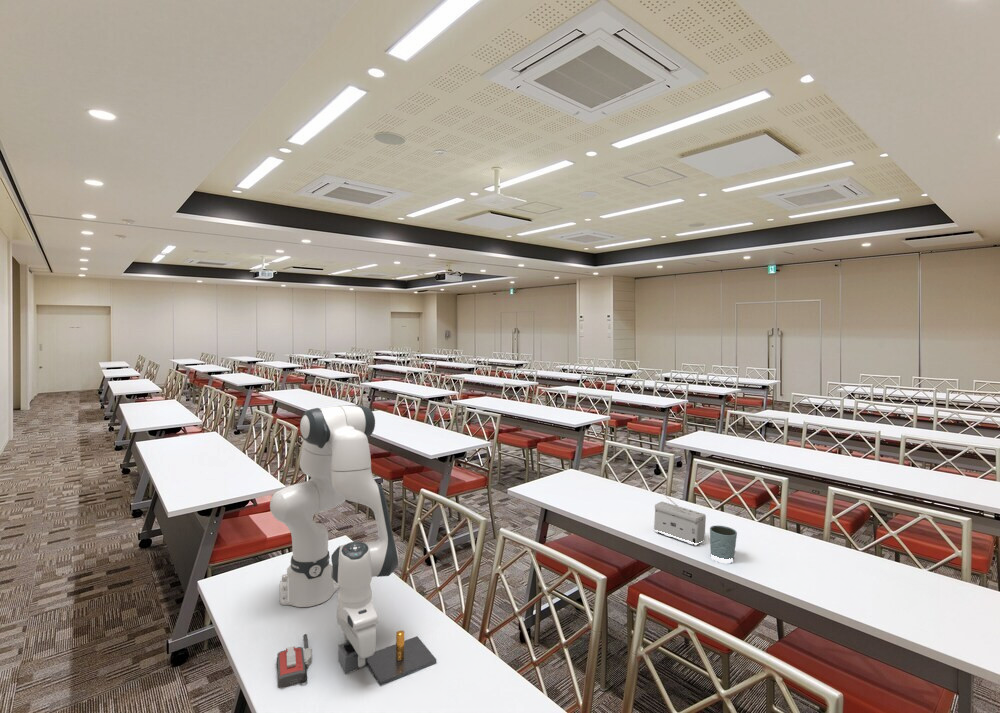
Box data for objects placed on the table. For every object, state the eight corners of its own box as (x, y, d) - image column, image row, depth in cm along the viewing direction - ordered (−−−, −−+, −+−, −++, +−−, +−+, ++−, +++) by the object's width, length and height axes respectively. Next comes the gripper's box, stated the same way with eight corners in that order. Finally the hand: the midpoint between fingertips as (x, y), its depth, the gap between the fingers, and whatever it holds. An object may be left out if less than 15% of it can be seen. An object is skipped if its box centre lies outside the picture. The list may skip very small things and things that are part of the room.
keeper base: (363, 659, 136) (363, 631, 136) (417, 639, 146) (417, 612, 145) (380, 686, 127) (380, 655, 126) (436, 662, 136) (436, 634, 135)
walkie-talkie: (315, 684, 127) (309, 638, 145) (315, 667, 127) (309, 623, 145) (277, 694, 124) (276, 645, 142) (277, 677, 123) (276, 630, 141)
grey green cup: (722, 566, 196) (724, 537, 195) (702, 555, 205) (704, 527, 204) (741, 562, 200) (742, 533, 199) (720, 551, 209) (722, 523, 208)
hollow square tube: (338, 660, 135) (338, 645, 135) (359, 653, 139) (360, 637, 139) (345, 674, 131) (345, 657, 130) (367, 665, 134) (367, 649, 134)
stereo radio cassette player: (705, 543, 217) (707, 498, 215) (696, 548, 211) (699, 502, 210) (660, 528, 232) (662, 485, 230) (651, 532, 226) (653, 489, 225)
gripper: (331, 591, 140) (331, 639, 141) (356, 628, 124) (356, 681, 125) (353, 585, 144) (353, 631, 145) (380, 620, 127) (380, 671, 128)
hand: (354, 655), depth 135 cm, fingers open, 8 cm apart
